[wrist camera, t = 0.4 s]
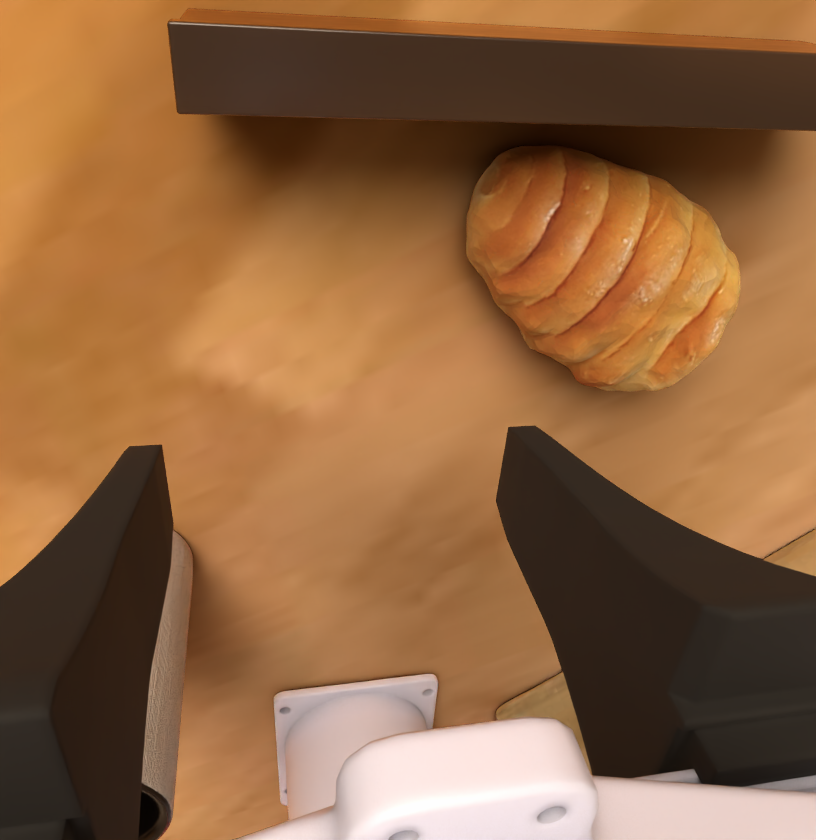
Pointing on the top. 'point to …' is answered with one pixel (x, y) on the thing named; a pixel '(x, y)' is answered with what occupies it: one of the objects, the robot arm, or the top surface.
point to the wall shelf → (485, 73)
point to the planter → (166, 698)
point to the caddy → (553, 695)
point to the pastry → (601, 266)
